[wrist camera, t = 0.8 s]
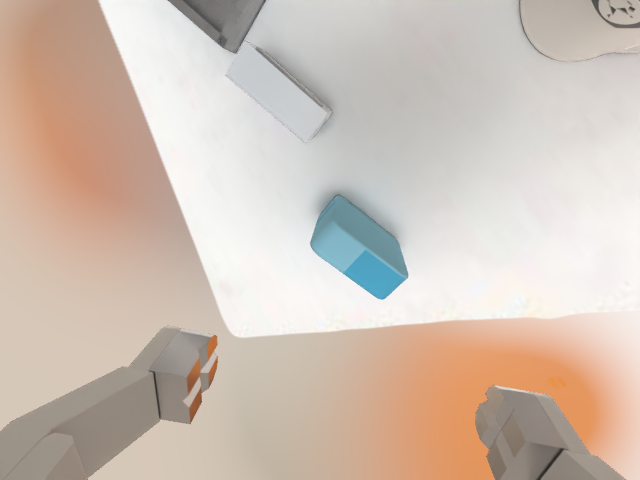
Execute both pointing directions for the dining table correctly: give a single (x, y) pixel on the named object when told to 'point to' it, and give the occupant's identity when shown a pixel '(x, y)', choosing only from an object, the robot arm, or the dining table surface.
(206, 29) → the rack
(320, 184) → the dining table surface
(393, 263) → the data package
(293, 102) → the light grey block
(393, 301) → the dining table surface
